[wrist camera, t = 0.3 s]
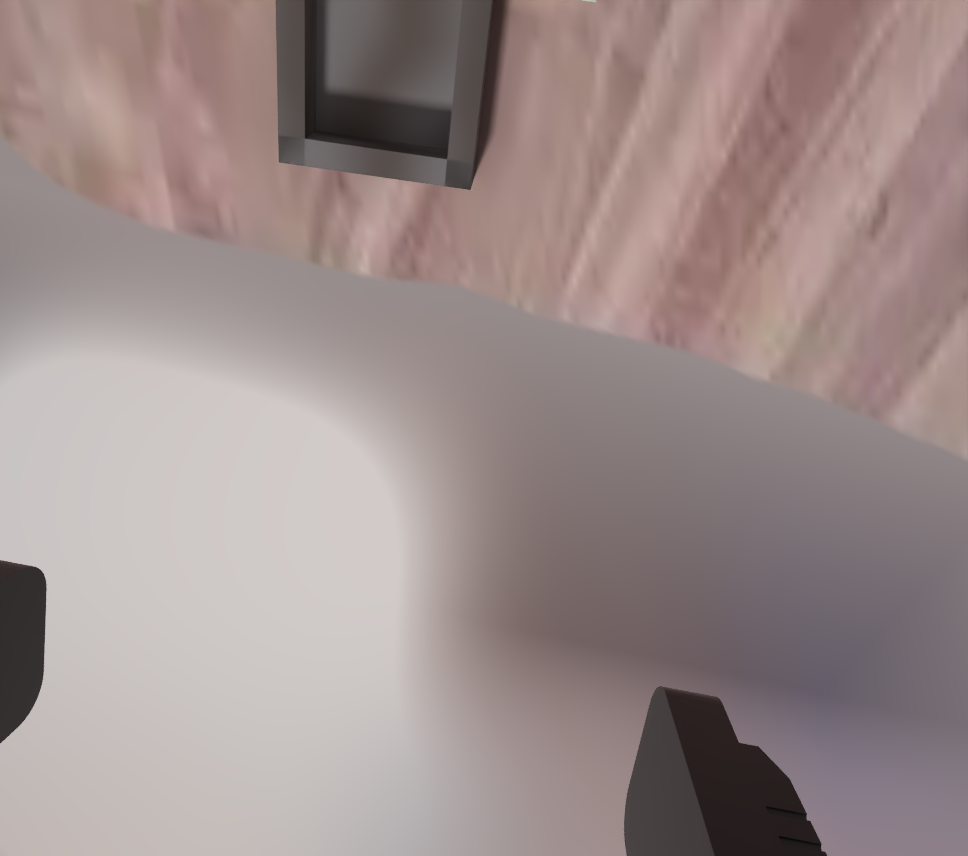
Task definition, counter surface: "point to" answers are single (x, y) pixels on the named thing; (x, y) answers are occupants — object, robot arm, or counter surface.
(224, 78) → the counter surface
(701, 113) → the counter surface
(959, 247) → the counter surface
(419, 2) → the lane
